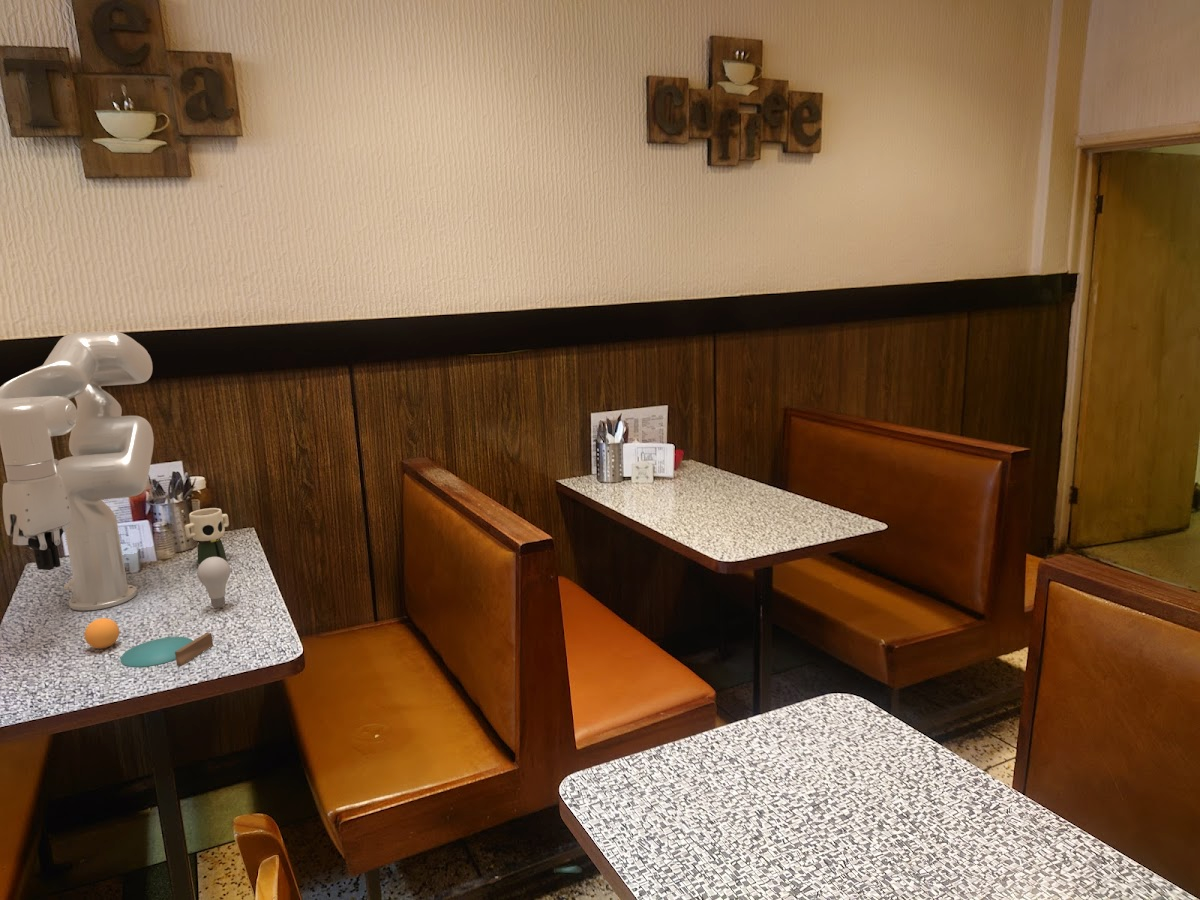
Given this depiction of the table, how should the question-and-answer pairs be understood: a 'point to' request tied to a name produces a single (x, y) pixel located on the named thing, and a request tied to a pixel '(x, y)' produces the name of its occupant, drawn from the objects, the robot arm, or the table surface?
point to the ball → (101, 633)
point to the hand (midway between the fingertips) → (49, 567)
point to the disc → (154, 652)
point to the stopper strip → (193, 649)
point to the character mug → (208, 532)
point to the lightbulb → (214, 579)
